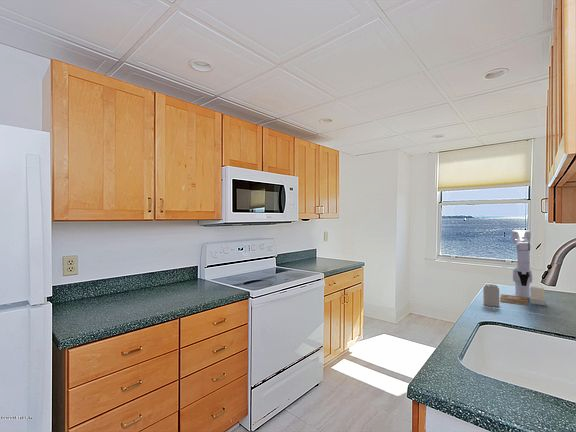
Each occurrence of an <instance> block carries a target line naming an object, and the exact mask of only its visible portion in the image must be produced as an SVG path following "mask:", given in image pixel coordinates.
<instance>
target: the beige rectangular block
mask: <svg viewBox="0 0 576 432" xmlns="http://www.w3.org/2000/svg"><path fill="white" fill-rule="evenodd" d="M530 297H531V299H535V300H543V301H544V299H545V288H544V287H539V286H530Z"/></svg>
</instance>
